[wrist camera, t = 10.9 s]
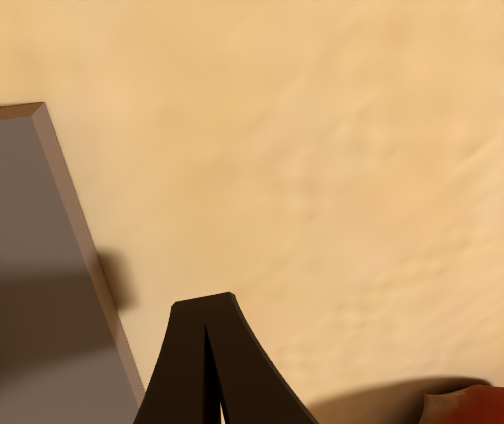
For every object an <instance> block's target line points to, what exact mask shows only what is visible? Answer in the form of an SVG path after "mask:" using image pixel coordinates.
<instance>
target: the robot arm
mask: <svg viewBox="0 0 504 424" xmlns="http://www.w3.org/2000/svg"><path fill="white" fill-rule="evenodd" d="M220 403H221V407H222V411H223V416H224V420H225V424H319V423H318V421H317V420H316V419H315V418H314V417H313V415H312V414H311V413H310V412H309V411H308V409H307V408H306V407H305V406H304V404H303V403H302V402H301V401H300V399H299V398H298V397H297V395H296V394H295V393H294V391H293V390H292V389H291V388H290V386H289V385H288V384H287V382H286V381H285V380H284V378H283V377H282V375H281V374H280V373H279V371H278V370H277V368H276V367H275V366H274V364H273V363H272V361H271V360H270V358H269V357H268V355H267V354H266V352H265V351H264V349H263V348H262V346H261V345H260V343H259V341H258V340H257V338H256V337H255V335H254V333H253V332H252V330H251V328H250V326H249V325H248V323H247V321H246V319H245V317H244V315H243V313H242V311H241V309H240V307H239V305H238V302H237V300H236V297H235V295H234V294H232V293H231V292H226V293H220V294H215V295H210V296H204V297H199V298H194V299H188V300H183V301H177V302H175V303H174V304H173V305H172V307H171V312H170V317H169V322H168V326H167V330H166V334H165V337H164V341H163V344H162V347H161V351H160V354H159V357H158V360H157V363H156V365H155V368H154V371H153V374H152V377H151V380H150V382H149V385H148V388H147V391H146V393H145V396H144V398H143V401H142V403H141V406H140V408H139V410H138V413H137V415H136V418H135V420H134V422H133V424H221V407H220Z"/></svg>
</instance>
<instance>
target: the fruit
mask: <svg viewBox="0 0 504 424" xmlns="http://www.w3.org/2000/svg"><path fill="white" fill-rule="evenodd" d="M422 392H423V391H422ZM423 395H424V410H423V413H422V416H421V419H420V421H419V423H418V424H504V388H503V387H493V386H487V385H472V386H470V387H467V388H465V389H462V390H459V391H455V392H452V393H447V394H440V395H432V394H426V393H425V392H423Z"/></svg>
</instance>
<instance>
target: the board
mask: <svg viewBox="0 0 504 424" xmlns="http://www.w3.org/2000/svg"><path fill="white" fill-rule="evenodd" d="M144 396H145V391H144V388H143V385H142V382H141V379H140V376H139V373H138V370H137V367H136V364H135V362H134V359H133V356H132V353H131V350H130V347H129V344H128V341H127V338H126V336H125V333H124V330H123V327H122V324H121V321H120V318H119V315H118V312H117V309H116V307H115V304H114V301H113V298H112V295H111V292H110V289H109V286H108V283H107V281H106V278H105V275H104V272H103V269H102V266H101V263H100V260H99V257H98V255H97V252H96V249H95V246H94V243H93V240H92V237H91V234H90V231H89V228H88V226H87V223H86V220H85V217H84V214H83V211H82V208H81V205H80V202H79V200H78V197H77V194H76V191H75V188H74V185H73V182H72V179H71V176H70V173H69V171H68V168H67V165H66V162H65V159H64V156H63V153H62V150H61V147H60V145H59V142H58V139H57V136H56V133H55V130H54V127H53V124H52V121H51V119H50V116H49V113H48V110H47V107H46V104H45V102H41V103H33V104H24V105H16V106H8V107H0V424H133V422H134V420H135V418H136V415H137V413H138V410H139V408H140V406H141V403H142V401H143V398H144Z"/></svg>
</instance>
